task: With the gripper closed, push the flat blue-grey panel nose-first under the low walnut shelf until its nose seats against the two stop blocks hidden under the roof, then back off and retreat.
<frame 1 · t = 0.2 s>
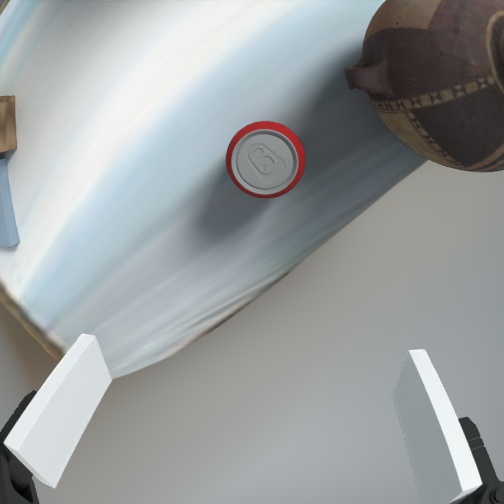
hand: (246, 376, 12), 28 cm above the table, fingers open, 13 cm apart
beverage can: (269, 150, 35), on the table
vase: (420, 83, 30), on the table
panel: (0, 201, 41), on the table
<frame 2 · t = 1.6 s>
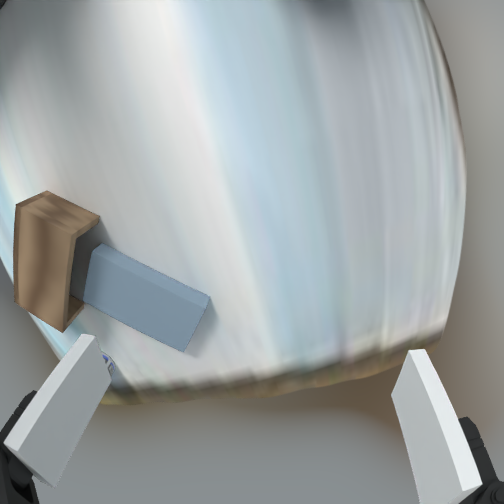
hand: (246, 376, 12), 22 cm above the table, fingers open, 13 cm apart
pill bottle: (103, 360, 44), on the table
panel: (146, 292, 38), on the table
shelf: (63, 252, 36), on the table
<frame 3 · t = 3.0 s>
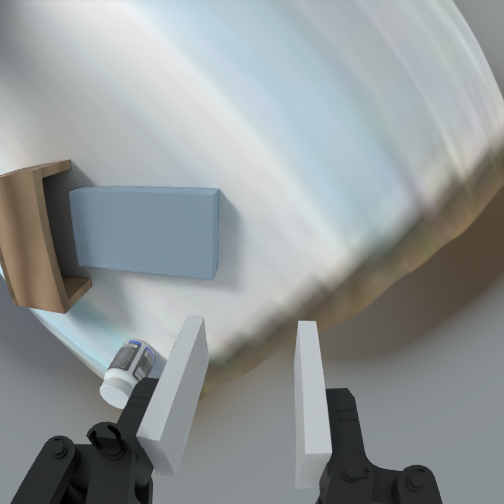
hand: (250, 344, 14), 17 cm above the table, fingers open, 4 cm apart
pill bottle: (140, 351, 37), on the table
panel: (147, 224, 30), on the table
shelf: (51, 226, 31), on the table
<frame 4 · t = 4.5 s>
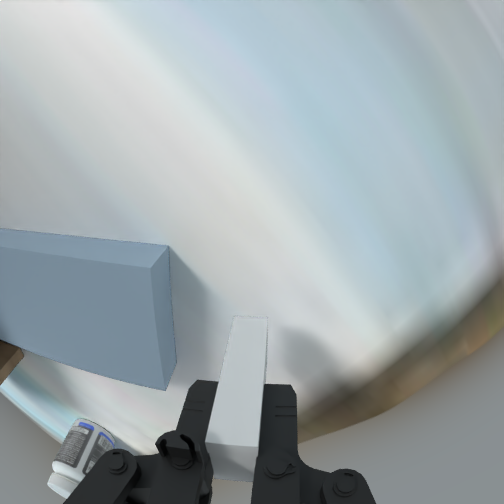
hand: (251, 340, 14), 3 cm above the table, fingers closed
pill bottle: (95, 430, 24), on the table
panel: (69, 289, 18), on the table
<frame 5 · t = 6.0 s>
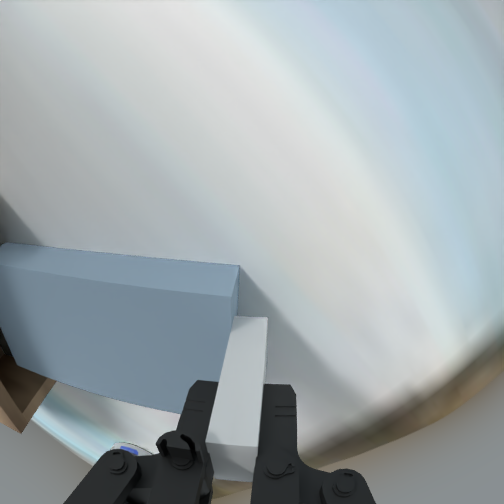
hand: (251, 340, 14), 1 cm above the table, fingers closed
pill bottle: (136, 453, 23), on the table
panel: (108, 313, 16), on the table, touching gripper
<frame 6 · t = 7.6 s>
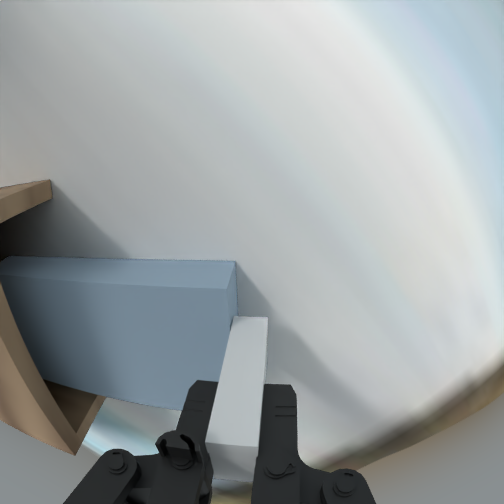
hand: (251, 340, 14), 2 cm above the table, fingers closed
panel: (114, 317, 17), on the table
shelf: (28, 297, 16), on the table
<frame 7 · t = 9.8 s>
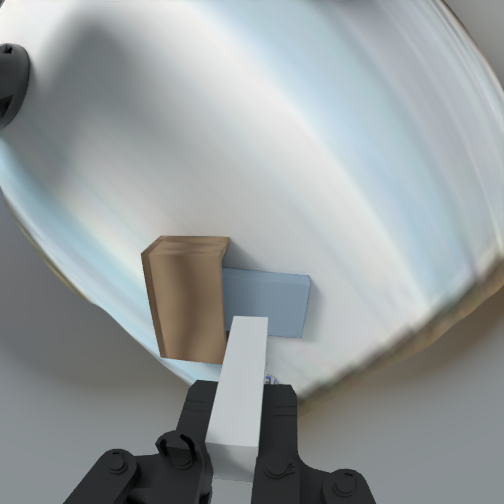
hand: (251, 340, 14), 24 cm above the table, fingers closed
panel: (248, 295, 41), on the table
shelf: (198, 289, 41), on the table
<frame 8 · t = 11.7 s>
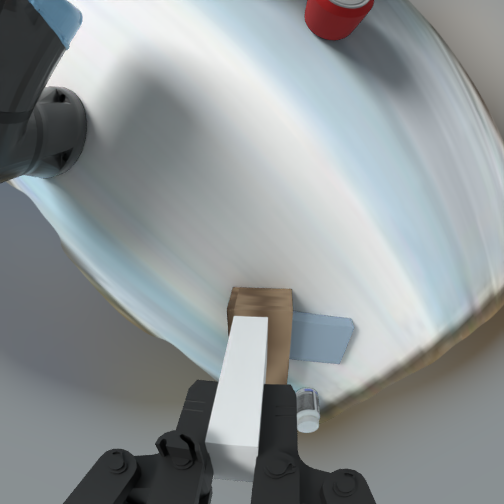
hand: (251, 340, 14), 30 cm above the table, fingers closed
beverage can: (328, 21, 32), on the table
pill bottle: (306, 393, 57), on the table
panel: (302, 330, 51), on the table
shelf: (261, 327, 50), on the table
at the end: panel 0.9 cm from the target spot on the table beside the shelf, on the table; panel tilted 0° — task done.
